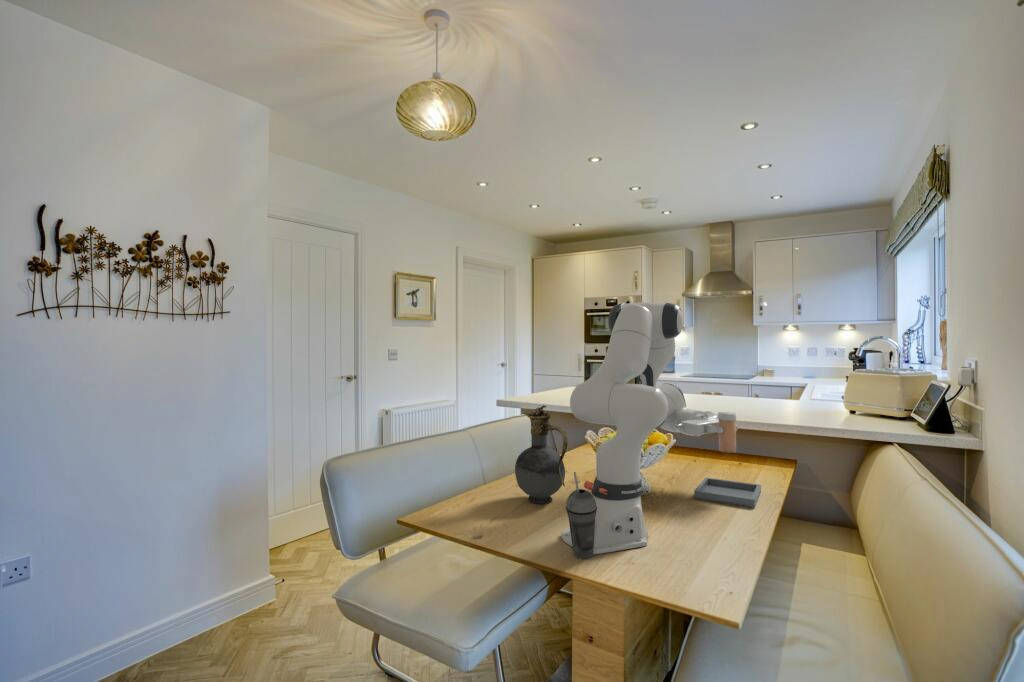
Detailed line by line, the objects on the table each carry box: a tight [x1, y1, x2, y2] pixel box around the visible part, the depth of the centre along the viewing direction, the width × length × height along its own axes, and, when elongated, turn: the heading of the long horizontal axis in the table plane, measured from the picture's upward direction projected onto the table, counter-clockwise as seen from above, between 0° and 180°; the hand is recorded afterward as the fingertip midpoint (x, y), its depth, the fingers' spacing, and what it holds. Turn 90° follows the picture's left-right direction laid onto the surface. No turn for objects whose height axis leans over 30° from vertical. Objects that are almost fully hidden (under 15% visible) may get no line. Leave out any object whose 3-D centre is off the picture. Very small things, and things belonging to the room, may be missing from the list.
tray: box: [693, 477, 762, 509], centre depth 156 cm, size 17×17×2 cm
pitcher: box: [514, 404, 569, 505], centre depth 152 cm, size 11×19×30 cm, turn 43°
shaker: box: [717, 411, 737, 454], centre depth 156 cm, size 5×5×12 cm
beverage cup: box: [565, 471, 597, 560], centre depth 113 cm, size 7×7×20 cm
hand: (729, 429), depth 155 cm, fingers closed on shaker, 5 cm apart
